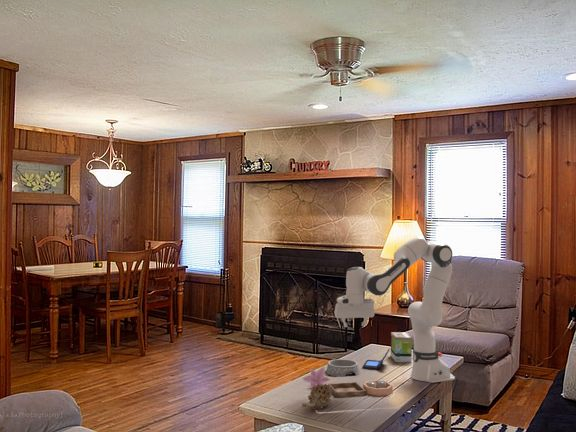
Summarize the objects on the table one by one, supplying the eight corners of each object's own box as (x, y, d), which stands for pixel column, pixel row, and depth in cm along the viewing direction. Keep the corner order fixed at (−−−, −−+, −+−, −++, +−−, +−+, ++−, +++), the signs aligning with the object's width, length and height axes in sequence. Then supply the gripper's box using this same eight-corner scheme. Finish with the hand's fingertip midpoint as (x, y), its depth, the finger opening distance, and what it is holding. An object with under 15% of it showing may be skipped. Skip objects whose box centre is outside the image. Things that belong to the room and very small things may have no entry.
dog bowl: (320, 370, 290) (320, 360, 290) (349, 366, 297) (349, 357, 297) (335, 378, 274) (335, 368, 274) (365, 374, 281) (365, 364, 281)
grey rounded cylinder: (384, 388, 254) (384, 380, 254) (387, 391, 250) (387, 383, 250) (376, 389, 253) (376, 381, 253) (379, 392, 249) (379, 383, 249)
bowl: (385, 387, 259) (385, 379, 259) (395, 396, 246) (395, 388, 246) (360, 389, 256) (360, 381, 257) (369, 397, 244) (369, 389, 244)
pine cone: (316, 400, 240) (316, 378, 240) (335, 404, 235) (336, 382, 235) (294, 416, 220) (295, 392, 220) (315, 420, 216) (315, 396, 216)
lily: (299, 389, 258) (300, 375, 254) (312, 375, 267) (313, 361, 262) (320, 401, 253) (322, 387, 248) (332, 386, 261) (334, 372, 257)
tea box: (412, 362, 305) (412, 337, 305) (394, 362, 305) (395, 337, 305) (406, 355, 320) (406, 331, 320) (390, 355, 320) (390, 331, 320)
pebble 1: (374, 389, 253) (374, 381, 253) (377, 392, 249) (377, 383, 249) (366, 390, 252) (366, 381, 252) (369, 392, 248) (369, 384, 249)
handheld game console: (366, 362, 307) (367, 346, 307) (389, 364, 302) (390, 348, 302) (362, 369, 292) (362, 352, 292) (386, 371, 288) (386, 354, 288)
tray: (356, 387, 259) (356, 382, 259) (366, 396, 245) (366, 390, 245) (328, 389, 256) (328, 383, 256) (336, 398, 242) (336, 392, 242)
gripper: (372, 297, 269) (371, 324, 269) (333, 298, 265) (333, 326, 265) (376, 299, 263) (376, 327, 263) (337, 300, 259) (337, 328, 259)
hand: (354, 326), depth 264 cm, fingers open, 8 cm apart
